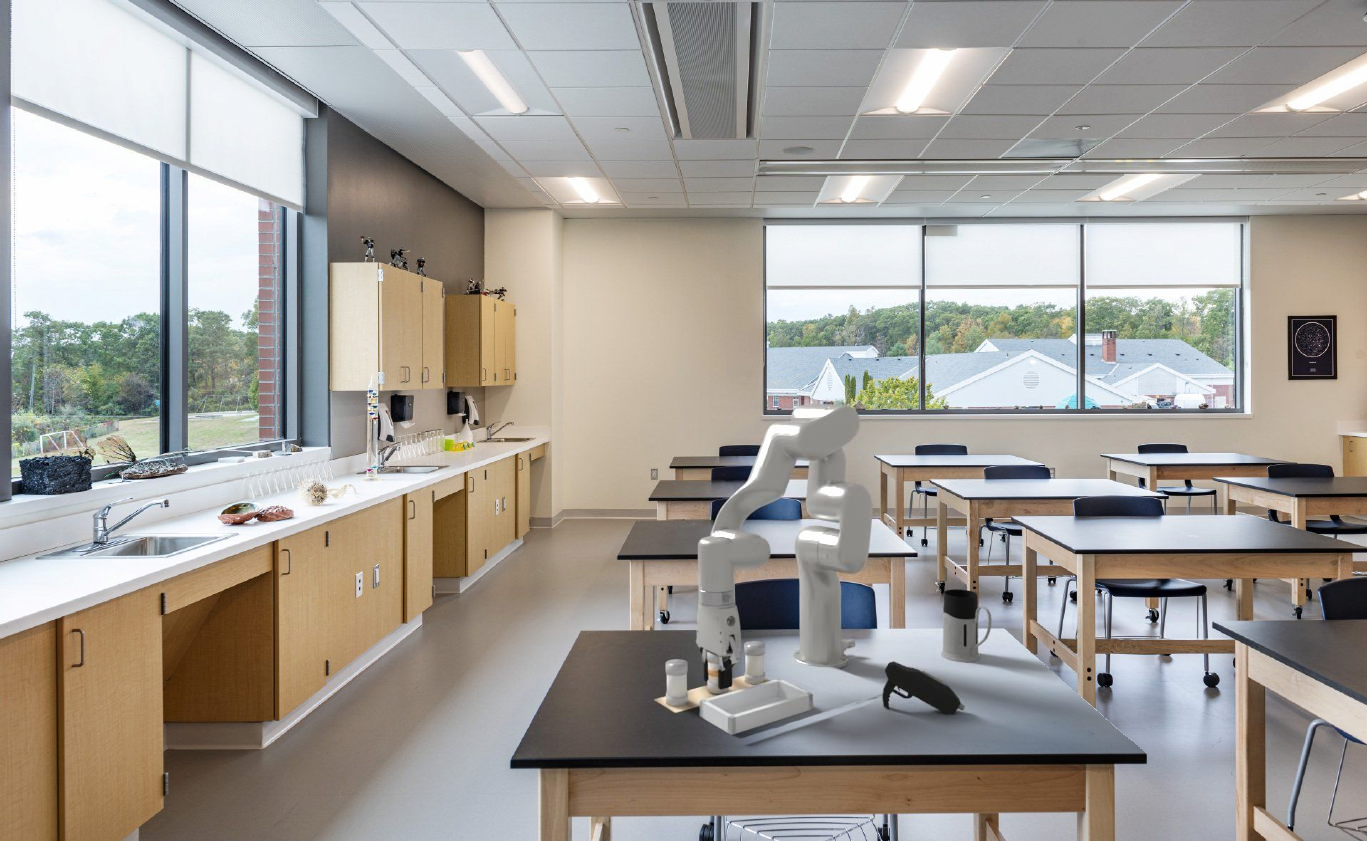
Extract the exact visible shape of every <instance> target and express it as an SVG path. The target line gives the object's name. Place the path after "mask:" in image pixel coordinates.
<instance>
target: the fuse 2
mask: <svg viewBox="0 0 1367 841" xmlns="http://www.w3.org/2000/svg"><path fill="white" fill-rule="evenodd" d="M743 645H744V647H743V649H744V650H743V651H744V652H743V653H744V654H745V655H744V656H745V657H744V658H745V662H744V663H745V665H744V666H745V670H744V675H745V683H747V684H750V685H758V684H762V683H765V678H766V672H765V654H766V643H764V642H763V641H757V640H752V641H751V640H750V641H745V643H744V644H743Z"/></svg>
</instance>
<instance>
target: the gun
mask: <svg viewBox="0 0 1367 841" xmlns="http://www.w3.org/2000/svg"><path fill="white" fill-rule="evenodd" d="M884 673H885V675H886V677H887V681H886V682H885V683H884V684H885V685H884V687H883V689H882V696H881V698H882V704H883V708H886V709H887V710H890V698H891V695H892V693H894V694H895V695H897V696H899V697H900V698H902V699H907V700H908V699H911V698H912V697H915V698H917V699H918V700H920V701H921V702H924V703H926V705H929V706H931V707H933V708H934V709H935V710H938V711H939V712H942V713H943V714H945V715H947V716H950V715H951V716H954V715H955V714H956V712H957V711H958V710H960V711H964V710H965V707H966V706H965V705H964V704H962V703H961V700H960V698H959V697H958V695H957V693H955V691H954V690H953V689H952V688H951V687H950V686H949V685H947V682H944V681H943V680H941V679H939V678H937V677H936V676H933V675H931V674H930V673H928V672H926V671H925V670H922V671H921V670H920V669H918V668H914V667H910V666H905V665H903V664H901V663H899V662H896V661H890V662H888V664H887V665H886V667H885V668H884ZM896 687H897V689H898V690H897V689H895V688H896ZM901 690H902V691H903V692H906V693H907V695H905V694H904V693H902V692H901Z"/></svg>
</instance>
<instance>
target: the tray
mask: <svg viewBox="0 0 1367 841" xmlns="http://www.w3.org/2000/svg"><path fill="white" fill-rule="evenodd" d="M812 710H814V693H812V692H809V691H807V690H805V689H803V688H801V687H799V686H796V685H795V684H792V683H790V682H787V681H786V680H783V679H782V678H777V679H773V680H771V681H769V682H765V683H762V684H758V685H754V686H751V687H747V688H744V689H740V690H736V691H733V692H729V693H726V694H722V695H718V696H715V697H711V698H707V699H704V700H700V706H699V717H700V718H702V720H703V719H704V720H705V721H707V722H709V723H710V724H712V725H714V726H716V727H717V728H718V729H720V730H722V731H724V732H726V733H727V734H728V735H731V736H733V735H736V734H739V733H743V732H745V731H746V732H747V731H749V730H751V729H756V728H758V727H761V726H764V725H767V724H771V723H774V722H778V721H780V720H784V719H787V718H790V717H793V716H797V715H799V714H802V713H805V712H808V711H812Z"/></svg>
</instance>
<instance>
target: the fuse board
mask: <svg viewBox="0 0 1367 841" xmlns="http://www.w3.org/2000/svg"><path fill="white" fill-rule="evenodd" d="M769 681H772V680H771V679H768V678H766V677H765V682H769ZM751 686H754V685H750V684H747V683H745V674H743V675H741V676H736V677H732V687H729V690H728V691H727V692H725V693H721V694H716V693H711V692H709V691H708V686H707V685H703V686H699V687H696V688H692V689H689V690H688V689H687V693H688V704H687V705H685V706H682V707H672V706H669V705H667V704H666V695H665V696H661V697H658V698H655V699H653V700H654V701H655V702H657V703H658V704H660V705H662V706H664V707H665V708H666V709H668V710H669V711H671V712H673V713H675V714H677V713H680V712H684V711H687V710H690V709H694V708H698V707H699V708H700V700H704V699H707V698H711V697H715V696H718V695H722V694H726V693H729V692H733V691H736V690H740V689H744V688H747V687H751Z"/></svg>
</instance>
